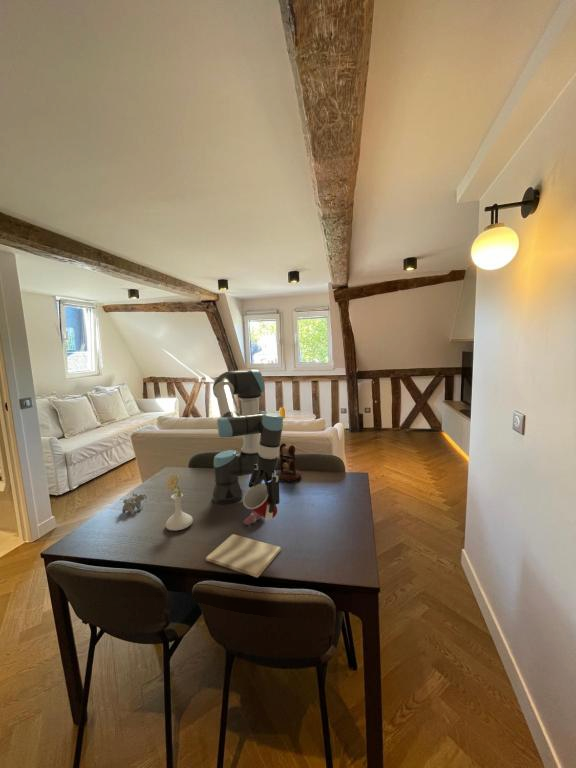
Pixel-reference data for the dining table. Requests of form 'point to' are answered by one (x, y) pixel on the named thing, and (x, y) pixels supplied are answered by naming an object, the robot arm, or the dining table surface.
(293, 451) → the brown wooden upright piece
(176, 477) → the flower in vase
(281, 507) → the dining table surface
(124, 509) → the elephant statuette
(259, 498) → the plastic cup
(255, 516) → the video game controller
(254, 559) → the birch board
